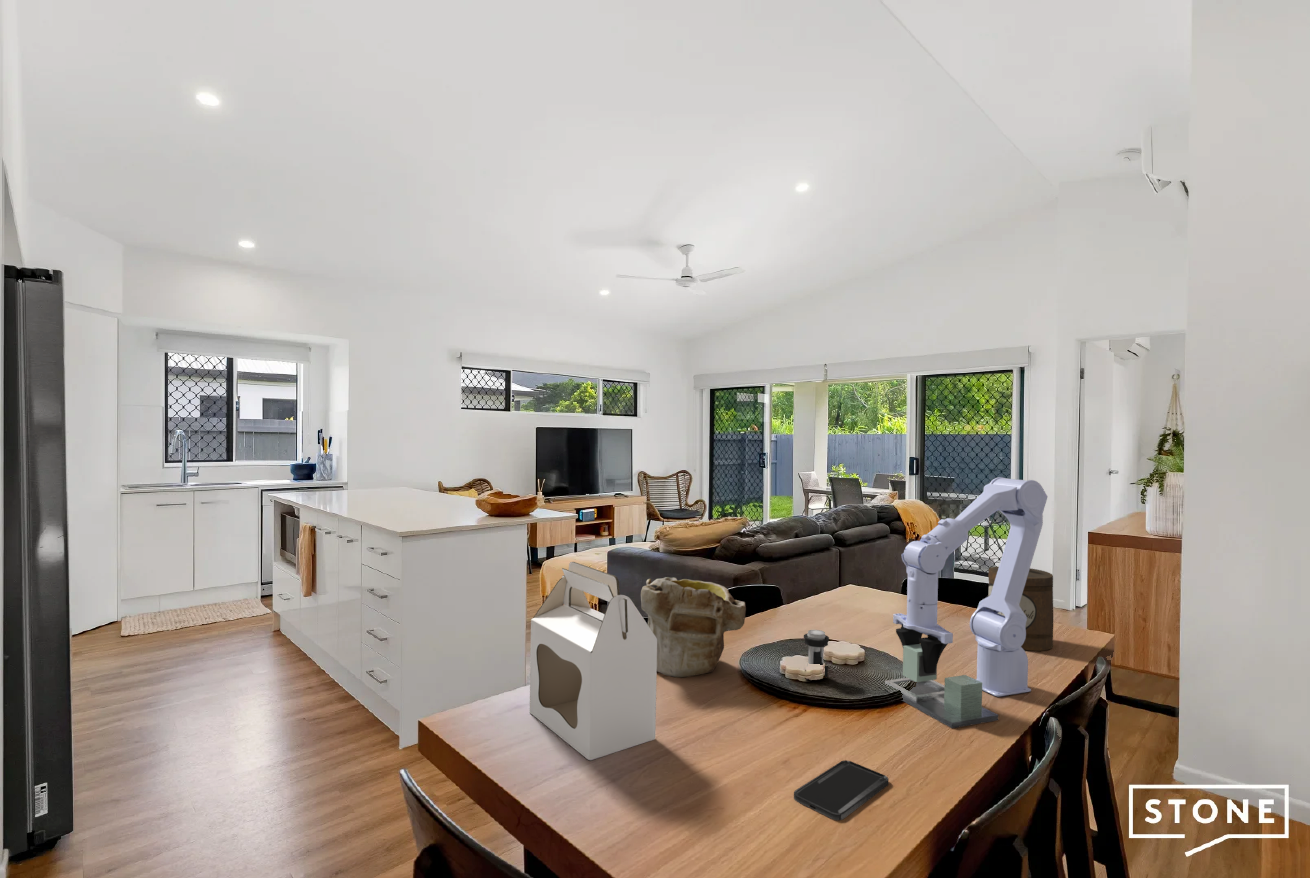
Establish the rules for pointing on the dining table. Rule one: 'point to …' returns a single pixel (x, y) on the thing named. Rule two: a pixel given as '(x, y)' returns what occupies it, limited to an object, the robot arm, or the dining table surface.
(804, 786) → the phone
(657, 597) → the ceramic vessel
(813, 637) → the push button
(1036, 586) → the wooden container
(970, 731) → the dining table surface
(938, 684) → the rail
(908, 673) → the block
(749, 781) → the dining table surface
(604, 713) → the gable box
